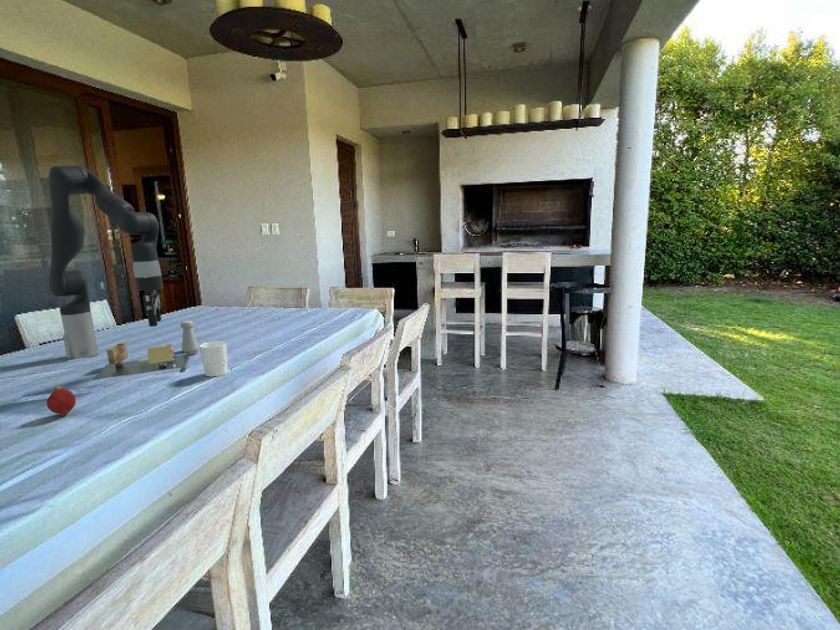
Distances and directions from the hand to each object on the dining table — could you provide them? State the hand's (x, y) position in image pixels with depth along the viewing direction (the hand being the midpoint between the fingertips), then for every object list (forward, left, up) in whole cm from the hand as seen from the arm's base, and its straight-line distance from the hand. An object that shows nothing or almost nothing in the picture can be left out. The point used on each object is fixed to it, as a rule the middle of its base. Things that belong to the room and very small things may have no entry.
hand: (155, 323), depth 147 cm
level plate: (-6, +5, -17) cm, 18 cm away
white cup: (+17, -12, -17) cm, 27 cm away
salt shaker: (+7, +19, -17) cm, 26 cm away
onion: (-19, -30, -17) cm, 39 cm away
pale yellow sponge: (0, 0, -15) cm, 15 cm away
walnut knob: (-14, +8, -15) cm, 22 cm away
